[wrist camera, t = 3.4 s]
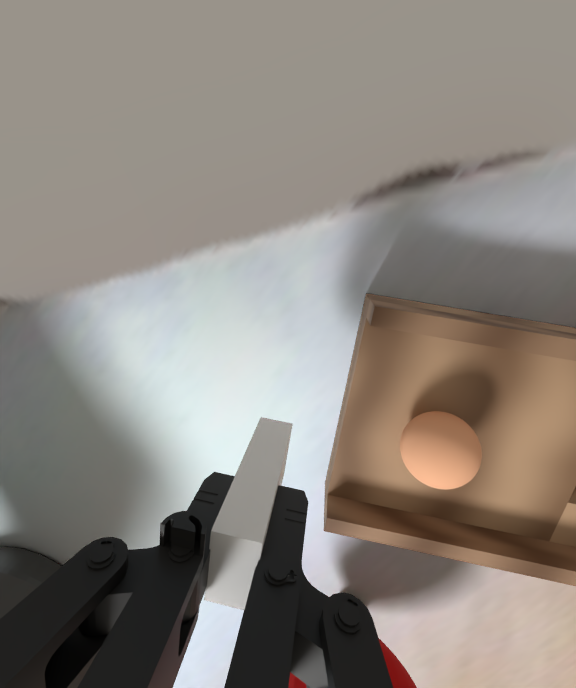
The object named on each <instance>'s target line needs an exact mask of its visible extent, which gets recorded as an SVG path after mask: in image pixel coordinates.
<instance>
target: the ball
mask: <svg viewBox="0 0 576 688" xmlns="http://www.w3.org/2000/svg"><path fill="white" fill-rule="evenodd" d="M400 452H401V456H402V460H403V462H404V464H405V466H406V468H407V469H408V470H409V472H410V473H411V474H412V475H413V476H414V477H415V478H416V479H417V480H419V481H420V482H422V483H423V484H425V485H427V486H430V487H433V488H436V489H444V490H447V489H455V488H458V487H461V486H463V485H465V484H467V483H468V482H469V481H471V480H472V479H473V478H474V476H475V475H476V474H477V472H478V470H479V468H480V465H481V460H482V450H481V445H480V442H479V439H478V437H477V435H476V434H475V432H474V431H473V429H472V428H471V427H470V426H469V425H468V424H467V423H466V422H465V421H463V420H462V419H460V418H459V417H457V416H455V415H453V414H450V413H447V412H441V411H431V412H426V413H422V414H420V415H418V416H416V417H415V418H413V419H412V420H411V421H410V422H409V423H408V424H407V425H406V427H405V428H404V430H403V432H402V435H401V439H400Z"/></svg>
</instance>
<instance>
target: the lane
mask: <svg viewBox="0 0 576 688" xmlns="http://www.w3.org/2000/svg"><path fill="white" fill-rule="evenodd" d="M431 411H441V412H447V413H450V414H453V415H455V416H457V417H459V418H460V419H462V420H463V421H465V422H466V423H467V424H468V425H469V426H470V427H471V428H472V429H473V431H474V432H475V434H476V435H477V437H478V439H479V442H480V445H481V450H482V460H481V465H480V468H479V470H478V472H477V474H476V475H475V476H474V478H473V479H472V480H471V481H469V482H468V483H467V484H465V485H463V486H461V487H458V488H455V489H447V490H444V489H436V488H433V487H430V486H427V485H425V484H423V483H422V482H420V481H419V480H417V479H416V478H415V477H414V476H413V475H412V474H411V473H410V472H409V470H408V469H407V468H406V466H405V464H404V462H403V460H402V456H401V452H400V439H401V435H402V432H403V430H404V428H405V427H406V425H407V424H408V423H409V422H410V421H411V420H412V419H413V418H415V417H416V416H418V415H420V414H422V413H426V412H431ZM324 531H326V532H331V533H336V534H340V535H345V536H349V537H354V538H358V539H363V540H368V541H372V542H377V543H381V544H386V545H390V546H395V547H399V548H404V549H409V550H413V551H418V552H422V553H427V554H431V555H436V556H441V557H445V558H450V559H454V560H459V561H463V562H468V563H472V564H477V565H482V566H486V567H491V568H495V569H500V570H504V571H509V572H514V573H518V574H523V575H527V576H532V577H536V578H541V579H545V580H550V581H555V582H559V583H564V584H568V585H573V586H576V328H574V327H568V326H562V325H555V324H549V323H543V322H537V321H531V320H525V319H519V318H513V317H507V316H501V315H495V314H489V313H483V312H477V311H470V310H464V309H458V308H452V307H446V306H440V305H434V304H428V303H422V302H416V301H410V300H404V299H398V298H391V297H385V296H379V295H373V294H367V293H366V296H365V300H364V305H363V310H362V314H361V319H360V323H359V328H358V333H357V337H356V342H355V347H354V351H353V356H352V360H351V365H350V370H349V374H348V379H347V384H346V388H345V393H344V397H343V402H342V407H341V411H340V416H339V421H338V425H337V430H336V434H335V439H334V444H333V448H332V453H331V458H330V462H329V467H328V471H327V476H326V481H325V507H324Z"/></svg>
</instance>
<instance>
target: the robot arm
mask: <svg viewBox="0 0 576 688" xmlns="http://www.w3.org/2000/svg"><path fill="white" fill-rule="evenodd" d="M291 429H292V424H291V423H286V422H281V421H276V420H271V419H267V418H262V417H261V418H260V420H259V423H258V425H257V427H256V429H255V432H254V434H253V436H252V439H251V441H250V443H249V445H248V448H247V450H246V452H245V455H244V457H243V459H242V461H241V464H240V466H239V468H238V471H237V473H236V475H235V476H230V475H226V474H221V473H217V472H214V473H212V474H211V475H210V476H209V477H207V478H206V479H205V480H204V481H203V483H202V485H201V487H200V488H199V491H198V492H197V494H196V496H195V497H194V500H193V501H192V503H191V505H190V506H189V508H188V510H187V511H181V512H177V513H174V514H172V515H170V516H168V517H167V518H166V519H165V520H164V521H163V522H162V523H161V525H160V545H158V546H156V547H153V548H147V549H135V550H128V549H127V545H126V544H125V543H124V542H123V541H122V540H121V539H118V538H114V537H108V538H101V539H98V540H95V541H93V542H91V543H90V544H88V545H87V546H85V547H84V548H83V549H82V550H80V551H79V552H78V553H77V554H76V555H75V556H73V557H72V558H71V559H70V560H69V561H67V562H66V563H65V564H64V565H63V566H60V565H59V564H57V563H56V562H54V561H52V560H50V559H48V558H46V557H44V556H42V555H39V554H37V553H34V552H31V551H28V550H24V549H19V548H13V547H0V688H172V687H173V685H174V682H175V679H176V677H177V674H178V671H179V668H180V666H181V663H182V660H183V658H184V655H185V652H186V649H187V647H188V644H189V641H190V639H191V636H192V633H193V630H194V628H195V625H196V622H197V619H198V613H199V605H200V603H201V600H202V597H203V595H204V592H205V597H204V600H206V601H210V602H214V603H218V604H222V605H225V606H229V607H233V608H237V609H241V610H244V613H243V617H242V621H241V625H240V629H239V633H238V637H237V641H236V645H235V649H234V652H233V656H232V660H231V664H230V668H229V672H228V676H227V680H226V684H225V687H224V688H288V687H289V678H290V672H291V673H292V674H293V675H295V676H296V677H297V678H299V679H300V680H301V681H303V682H304V683H305V684H306V687H307V688H393V685H392V681H391V678H390V675H389V672H388V668H387V665H386V662H385V658H384V655H383V652H382V649H381V645H380V642H379V639H378V636H377V632H376V629H375V626H374V622H373V619H372V617H371V615H370V613H369V610H368V608H367V607H366V606H365V605H364V604H363V603H362V602H361V601H360V600H359V599H358V598H356V597H354V596H353V595H351V594H346V593H337V594H333V595H332V596H330V597H328V596H326V595H325V594H323V593H322V592H320V591H318V590H317V589H316V588H314V587H313V586H312V585H311V584H310V583H309V582H308V580H307V579H306V577H305V575H304V573H303V570H302V561H301V560H302V552H303V543H304V534H305V526H306V517H307V508H308V500H307V498H306V495H305V492H304V491H302V490H298V489H293V488H289V487H284V486H281V484H282V480H283V475H284V470H285V465H286V459H287V453H288V447H289V441H290V435H291Z"/></svg>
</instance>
